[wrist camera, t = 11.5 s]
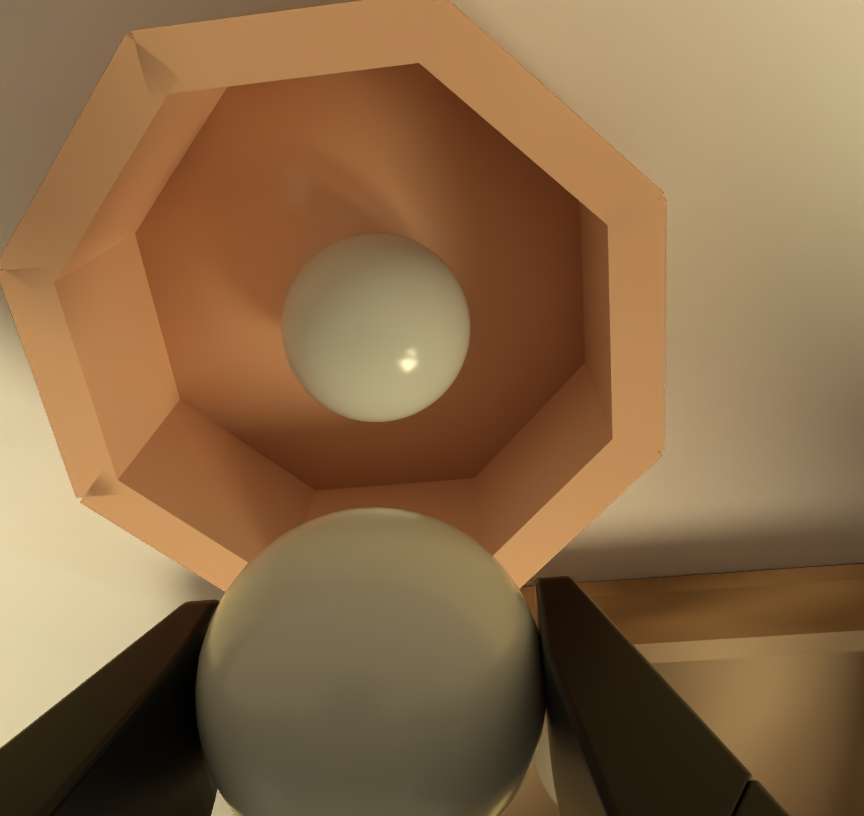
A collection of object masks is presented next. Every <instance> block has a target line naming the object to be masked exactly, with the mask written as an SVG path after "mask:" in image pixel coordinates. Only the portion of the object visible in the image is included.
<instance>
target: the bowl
mask: <svg viewBox="0 0 864 816" xmlns="http://www.w3.org/2000/svg"><path fill="white" fill-rule="evenodd" d="M132 33H133V34H126V35H125V36H124V38H123V40H122V42H121V44H120V45H119V47H118V49H117V51H116V52H115V54H114V56H113V58H112V60H111V61H110V63H109V65H108V67H107V68H106V70H105V72H104V74H103V76H102V77H101V79H100V81H99V83H98V84H97V86H96V88H95V90H94V92H93V93H92V95H91V97H90V99H89V100H88V102H87V104H86V106H85V108H84V109H83V111H82V113H81V115H80V117H79V118H78V120H77V122H76V124H75V125H74V127H73V129H72V131H71V133H70V134H69V136H68V138H67V140H66V141H65V143H64V145H63V147H62V149H61V150H60V152H59V154H58V156H57V157H56V159H55V161H54V163H53V165H52V166H51V168H50V170H49V172H48V173H47V175H46V177H45V179H44V181H43V182H42V184H41V186H40V188H39V190H38V191H37V193H36V195H35V197H34V198H33V200H32V202H31V204H30V206H29V207H28V209H27V211H26V213H25V214H24V216H23V218H22V220H21V222H20V223H19V225H18V227H17V229H16V230H15V232H14V234H13V236H12V238H11V239H10V241H9V243H8V245H7V246H6V248H5V250H4V252H3V254H2V255H1V257H0V267H1V269H0V283H1V286H2V288H3V291H4V294H5V297H6V300H7V303H8V305H9V308H10V311H11V314H12V317H13V320H14V322H15V325H16V328H17V331H18V334H19V337H20V340H21V342H22V345H23V348H24V351H25V354H26V357H27V359H28V362H29V365H30V368H31V371H32V374H33V376H34V379H35V382H36V385H37V388H38V391H39V393H40V396H41V399H42V402H43V405H44V408H45V411H46V413H47V416H48V419H49V422H50V425H51V428H52V430H53V433H54V436H55V439H56V442H57V445H58V447H59V450H60V453H61V456H62V459H63V462H64V465H65V467H66V470H67V473H68V476H69V479H70V482H71V484H72V487H73V490H74V493H75V496H76V498H80V497H83V498H82V500H81V501H80V503H82V504H83V505H85V506H86V507H88V508H90V509H91V510H93V511H95V512H96V513H98V514H99V515H101V516H103V517H104V518H106V519H108V520H109V521H111V522H112V523H114V524H116V525H117V526H119V527H121V528H122V529H124V530H125V531H127V532H129V533H130V534H132V535H133V536H135V537H137V538H138V539H140V540H142V541H143V542H145V543H146V544H148V545H150V546H151V547H153V548H155V549H156V550H158V551H159V552H161V553H163V554H164V555H166V556H168V557H169V558H171V559H172V560H174V561H176V562H177V563H179V564H180V565H182V566H184V567H185V568H187V569H189V570H190V571H192V572H193V573H195V574H197V575H198V576H200V577H202V578H203V579H205V580H206V581H208V582H210V583H211V584H213V585H215V586H216V587H218V588H219V589H221V590H223V591H224V592H226V590H227V589H228V588H229V586H230V585H231V584H232V582H233V581H234V580H235V578H236V577H237V576H238V574H239V573H240V572H241V571H242V570H243V568H244V567H245V566H246V565H247V564H248V563H249V562H250V561H251V560H252V559H253V558H254V557H255V556H256V555H257V554H258V553H259V552H260V551H261V550H263V549H264V548H265V547H267V546H268V545H269V544H271V543H272V542H273V541H275V540H276V539H277V538H279V537H280V536H281V535H283V534H284V533H286V532H288V531H290V530H291V529H293V528H295V527H297V526H299V525H301V524H303V523H305V522H308V521H310V520H313V519H315V518H318V517H321V516H323V515H326V514H330V513H334V512H337V511H341V510H347V509H355V508H364V507H384V508H395V509H403V510H408V511H412V512H417V513H421V514H424V515H427V516H430V517H433V518H436V519H438V520H441V521H443V522H445V523H447V524H449V525H451V526H454V527H455V528H457V529H458V530H460V531H462V532H463V533H465V534H467V535H468V536H470V537H471V538H472V539H473V540H475V541H476V542H477V543H478V544H480V545H481V546H482V547H483V548H485V549H486V550H487V551H488V552H490V553H491V554H492V555H493V556H494V557H495V558H496V559H497V561H498V562H499V563H500V564H501V565H502V566H503V567H504V568H505V570H506V571H507V573H508V574H509V575H510V577H511V578H512V579H513V581H514V582H515V584H516V585H517V586H518V588H519V589H520V588H521V587H522V586H523V585H524V584H525V583H526V582H527V581H529V580H530V579H531V578H532V577H533V576H534V575H535V574H536V573H537V572H538V571H539V570H540V569H541V568H542V567H543V566H545V565H546V564H547V563H548V562H549V561H550V560H551V559H552V558H553V557H554V556H555V555H556V554H557V553H558V552H559V551H561V550H562V549H563V548H564V547H565V546H566V545H567V544H568V543H569V542H570V541H571V540H572V539H573V538H574V537H576V536H577V535H578V534H579V533H580V532H581V531H582V530H583V529H584V528H585V527H586V526H587V525H588V524H589V523H590V522H592V521H593V520H594V519H595V518H596V517H597V516H598V515H599V514H600V513H601V512H602V511H603V510H604V509H605V508H606V507H608V506H609V505H610V504H611V503H612V502H613V501H614V500H615V499H616V498H617V497H618V496H619V495H620V494H621V493H623V492H624V491H625V490H626V489H627V488H628V487H629V486H630V485H631V484H632V483H633V482H634V481H635V480H636V479H637V478H639V477H640V476H641V475H642V474H643V473H644V472H645V471H646V470H647V469H648V468H649V467H650V466H651V465H652V464H653V463H655V462H656V461H657V460H658V459H659V458H660V457H661V456H662V454H661V452H660V450H664V426H665V303H666V199H665V198H664V197H663V196H662V194H663V193H664V192H663V191H661V190H660V189H659V188H658V187H657V186H656V185H655V184H654V183H652V182H651V181H650V180H649V179H648V178H647V177H646V176H645V175H644V174H642V173H641V172H640V171H639V170H638V169H637V168H636V167H635V166H633V165H632V164H631V163H630V162H629V161H628V160H627V159H626V158H625V157H623V156H622V155H621V154H620V153H619V152H618V151H617V150H616V149H614V148H613V147H612V146H611V145H610V144H609V143H608V142H607V141H606V140H604V139H603V138H602V137H601V136H600V135H599V134H598V133H597V132H595V131H594V130H593V129H592V128H591V127H590V126H589V125H588V124H587V123H585V122H584V121H583V120H582V119H581V118H580V117H579V116H578V115H576V114H575V113H574V112H573V111H572V110H571V109H570V108H569V107H568V106H566V105H565V104H564V103H563V102H562V101H561V100H560V99H559V98H557V97H556V96H555V95H554V94H553V93H552V92H551V91H550V90H548V89H547V88H546V87H545V86H544V85H543V84H542V83H541V82H540V81H538V80H537V79H536V78H535V77H534V76H533V75H532V74H531V73H529V72H528V71H527V70H526V69H525V68H524V67H523V66H522V65H521V64H519V63H518V62H517V61H516V60H515V59H514V58H513V57H512V56H510V55H509V54H508V53H507V52H506V51H505V50H504V49H503V48H502V47H500V46H499V45H498V44H497V43H496V42H495V41H494V40H493V39H491V38H490V37H489V36H488V35H487V34H486V33H485V32H484V31H483V30H481V29H480V28H479V27H478V26H477V25H476V24H475V23H474V22H472V21H471V20H470V19H469V18H468V17H467V16H466V15H465V14H464V13H462V12H461V11H460V10H459V9H458V8H457V7H456V6H455V5H453V4H452V3H451V2H450V1H449V0H360V1H353V2H345V3H337V4H330V5H322V6H315V7H307V8H299V9H292V10H284V11H277V12H269V13H261V14H254V15H246V16H238V17H231V18H223V19H216V20H208V21H200V22H193V23H185V24H178V25H170V26H162V27H155V28H147V29H140V30H132ZM368 232H385V233H391V234H397V235H401V236H404V237H407V238H410V239H412V240H414V241H416V242H418V243H420V244H422V245H423V246H425V247H426V248H428V249H430V250H431V251H433V252H434V253H435V254H436V255H437V256H438V257H440V258H441V259H442V260H443V261H444V262H445V263H446V265H447V266H448V267H449V268H450V269H451V271H452V272H453V274H454V275H455V277H456V278H457V280H458V282H459V283H460V286H461V288H462V290H463V292H464V294H465V298H466V301H467V304H468V309H469V315H470V341H469V346H468V351H467V355H466V357H465V360H464V363H463V365H462V368H461V370H460V372H459V374H458V375H457V377H456V379H455V380H454V382H453V383H452V385H451V386H450V387H449V388H448V389H447V391H446V392H445V393H444V394H443V395H442V396H441V397H440V398H439V399H437V400H436V401H435V402H434V403H432V404H431V405H430V406H428V407H427V408H425V409H423V410H421V411H419V412H418V413H416V414H413V415H411V416H408V417H405V418H402V419H398V420H394V421H386V422H366V421H358V420H354V419H350V418H347V417H345V416H342V415H339V414H337V413H335V412H333V411H331V410H329V409H327V408H326V407H324V406H323V405H321V404H320V403H318V402H317V401H316V400H315V399H314V398H313V397H311V396H310V395H309V394H308V393H307V392H306V390H305V389H304V388H303V387H302V385H301V384H300V383H299V382H298V380H297V379H296V377H295V376H294V374H293V372H292V371H291V368H290V366H289V364H288V361H287V359H286V355H285V352H284V348H283V344H282V337H281V316H282V309H283V304H284V301H285V297H286V294H287V291H288V289H289V287H290V285H291V282H292V281H293V279H294V277H295V276H296V274H297V273H298V271H299V270H300V269H301V267H302V266H303V265H304V264H305V263H306V261H308V260H309V259H310V258H311V257H312V256H313V255H314V254H315V253H316V252H318V251H319V250H321V249H322V248H324V247H325V246H326V245H328V244H330V243H332V242H334V241H336V240H338V239H341V238H344V237H347V236H350V235H355V234H359V233H368Z"/></svg>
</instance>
